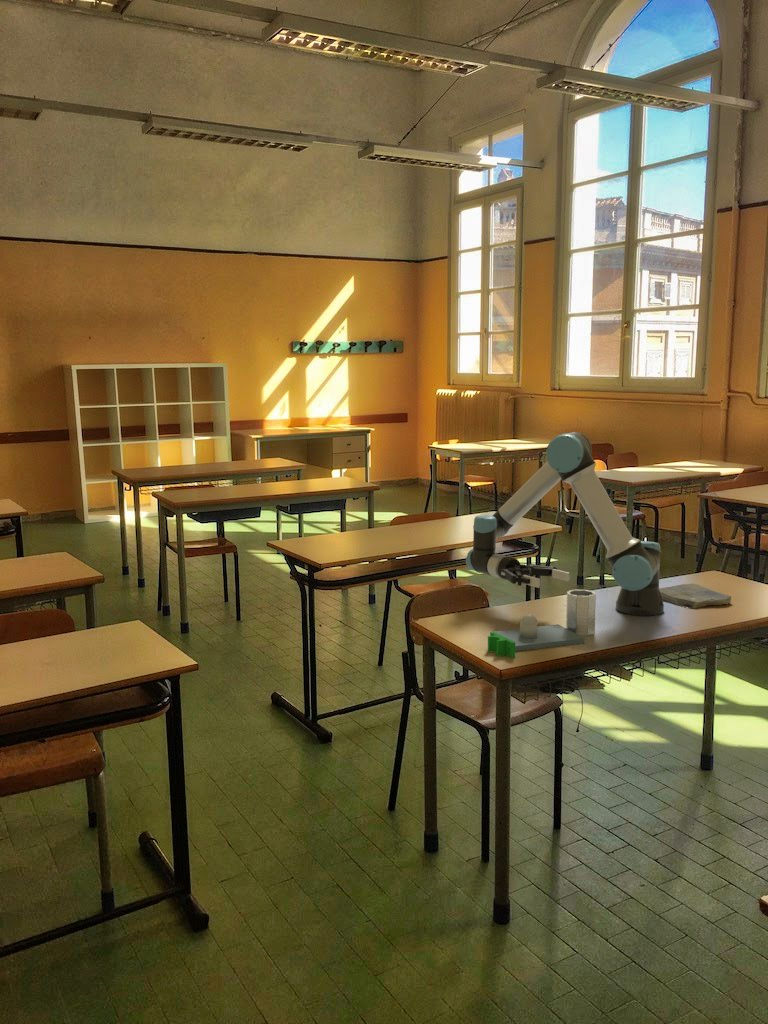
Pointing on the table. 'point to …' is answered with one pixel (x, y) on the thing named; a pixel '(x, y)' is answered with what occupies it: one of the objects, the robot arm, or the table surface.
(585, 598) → the sleeve
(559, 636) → the base
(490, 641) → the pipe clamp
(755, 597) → the table surface
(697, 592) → the fossil
